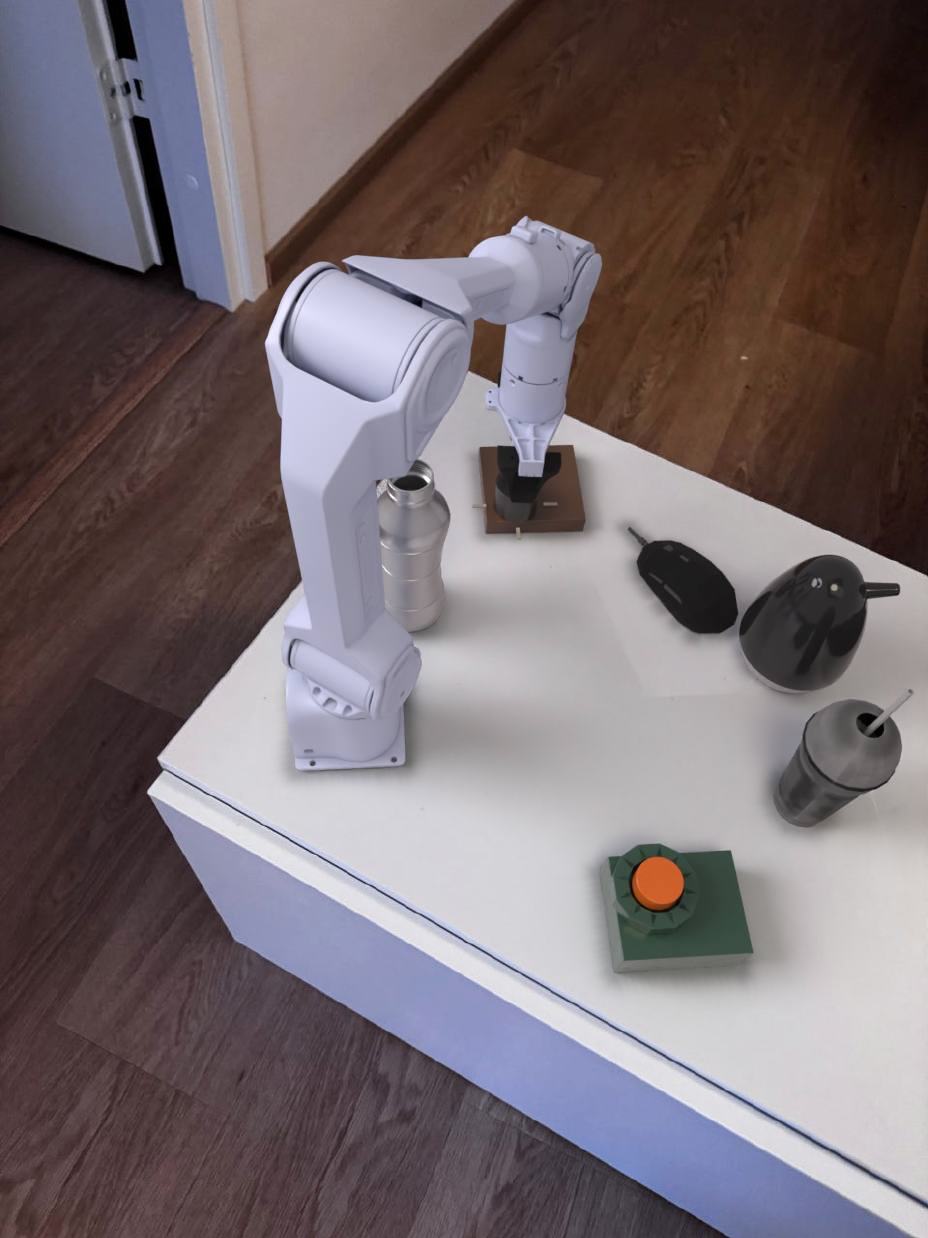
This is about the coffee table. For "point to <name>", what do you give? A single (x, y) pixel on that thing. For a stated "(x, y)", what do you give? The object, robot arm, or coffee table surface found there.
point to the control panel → (555, 500)
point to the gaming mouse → (688, 585)
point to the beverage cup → (839, 760)
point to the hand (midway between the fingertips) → (521, 468)
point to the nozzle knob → (511, 503)
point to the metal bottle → (413, 546)
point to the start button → (657, 883)
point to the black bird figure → (808, 624)
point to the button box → (676, 914)
